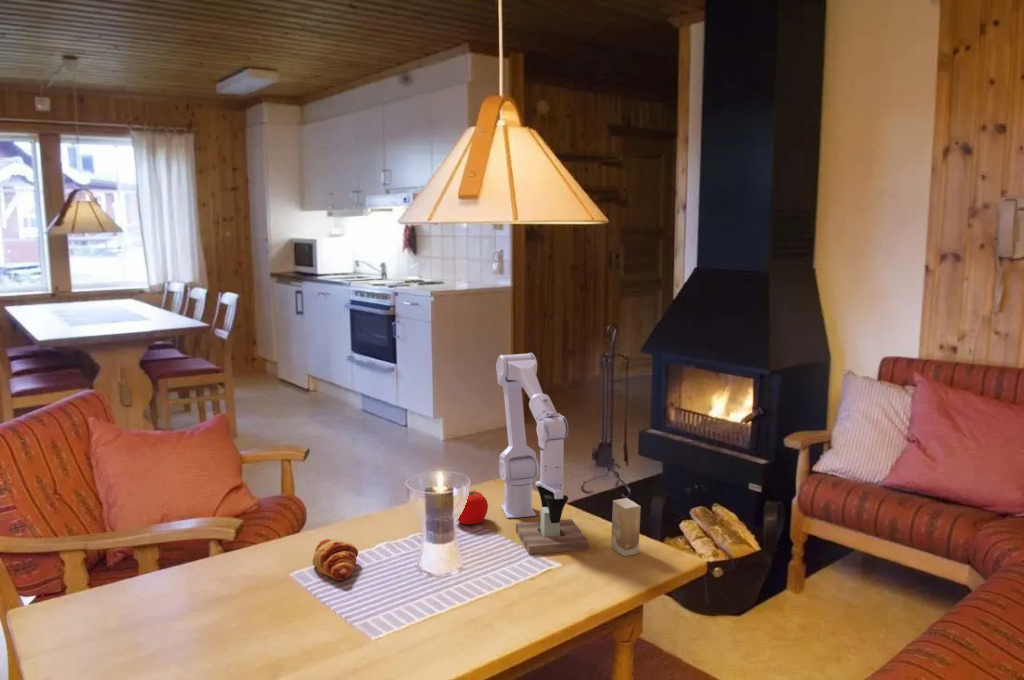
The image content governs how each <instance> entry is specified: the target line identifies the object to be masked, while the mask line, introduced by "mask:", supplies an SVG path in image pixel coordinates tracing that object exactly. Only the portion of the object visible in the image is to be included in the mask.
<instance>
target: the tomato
mask: <svg viewBox="0 0 1024 680" xmlns="http://www.w3.org/2000/svg"><path fill="white" fill-rule="evenodd" d="M488 509H489V503H488V500H487V498H486V497H485V496H484V495H483V494H482V493H481V492H479V491H476V490H470V491H469V496H468V499H467V503H466V505H465V508H464V510H463V512H462V514H461V515H460V517H459V519H458V521H457V522H459V523H461V524H463V525H469V526H470V525H471V526H472V525H478V524H480V523H482V522H483V521H484V519H485V518H486V516H487V514H488Z"/></svg>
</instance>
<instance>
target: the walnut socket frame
mask: <svg viewBox="0 0 1024 680" xmlns="http://www.w3.org/2000/svg"><path fill="white" fill-rule="evenodd" d="M515 532H516V533H517V535H518V538H519V540H520V541H521V543H522V544H523V547H524V546H525V547H524V548H525V550H526V552H527V554H528V553H529V554H528V555H533V554H532V553H539V554H548V553H549V554H550V553H560V552H561V553H562V552H570V551H571V552H572V551H573V552H574V551H582V550H585V551H586V550H589V547H590V546H589V543H590V541H589V539H588V538H586V536H585V535H584V533H583V532H582V531H581V530H580V528H579V527H578V526H577V524H576V523H575V521H574V520H573V519H572V518H571V519H570V518H569V519H567V518H566V519H560V536H558V537H546V538H542V536H541V520H540V521H531V522H529V521H528V522H515Z"/></svg>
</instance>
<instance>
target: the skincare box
mask: <svg viewBox="0 0 1024 680" xmlns="http://www.w3.org/2000/svg"><path fill="white" fill-rule="evenodd" d="M641 509H642V507H641V505H639V504H638V503H636V502H635V501H633V500H631V499H629V498H628V497H625V498H619V499H613V500H612V514H611V515H612V516H611V521H612V522H611V537H610V538H611V539H610V547H611V548H612V549H614V550H615V551H616V552H617V553H619V554H620V555H622V556H624V557H627V556H632V555H637V554H639V551H640V549H639V548H640V526H641Z"/></svg>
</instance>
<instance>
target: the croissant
mask: <svg viewBox="0 0 1024 680" xmlns="http://www.w3.org/2000/svg"><path fill="white" fill-rule="evenodd" d="M358 555H359V550H358V549H357V548H356V546H355V545H354V544H352V543H350V542H345V541H342V540H338V539H331V538H327V539H324V540H321V541H319V543H318V544H317V545H316V547H315V551H314V554H313V557H312V566H314V567H316V568H317V571H319V572H320V573H321V574H322V575H325V576H327V577H330V578H331V579H333V580H336V581H343V580H346V579H347V578H349V577H350V576H351V575H353V572H354V569H355V568H356V564H357V557H358Z"/></svg>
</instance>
